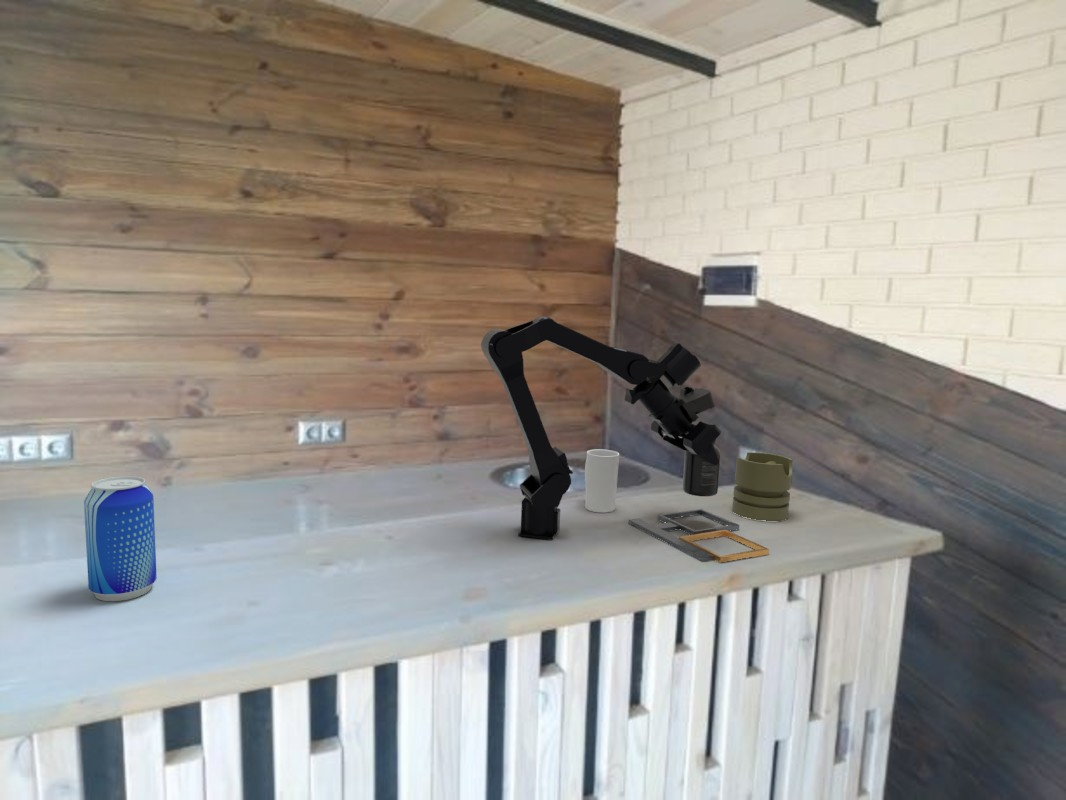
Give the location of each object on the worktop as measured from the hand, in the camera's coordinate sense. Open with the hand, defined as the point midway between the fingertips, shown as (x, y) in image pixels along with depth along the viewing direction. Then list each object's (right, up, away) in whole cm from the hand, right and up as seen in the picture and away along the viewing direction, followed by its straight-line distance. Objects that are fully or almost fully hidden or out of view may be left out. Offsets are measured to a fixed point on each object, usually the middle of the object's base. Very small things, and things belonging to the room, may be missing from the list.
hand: (708, 459), depth 141 cm
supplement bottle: (-2, -7, +1) cm, 7 cm away
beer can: (-93, -16, -39) cm, 102 cm away
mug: (-21, -11, +12) cm, 26 cm away
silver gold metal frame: (-2, -14, -5) cm, 15 cm away
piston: (+14, -12, +11) cm, 22 cm away
